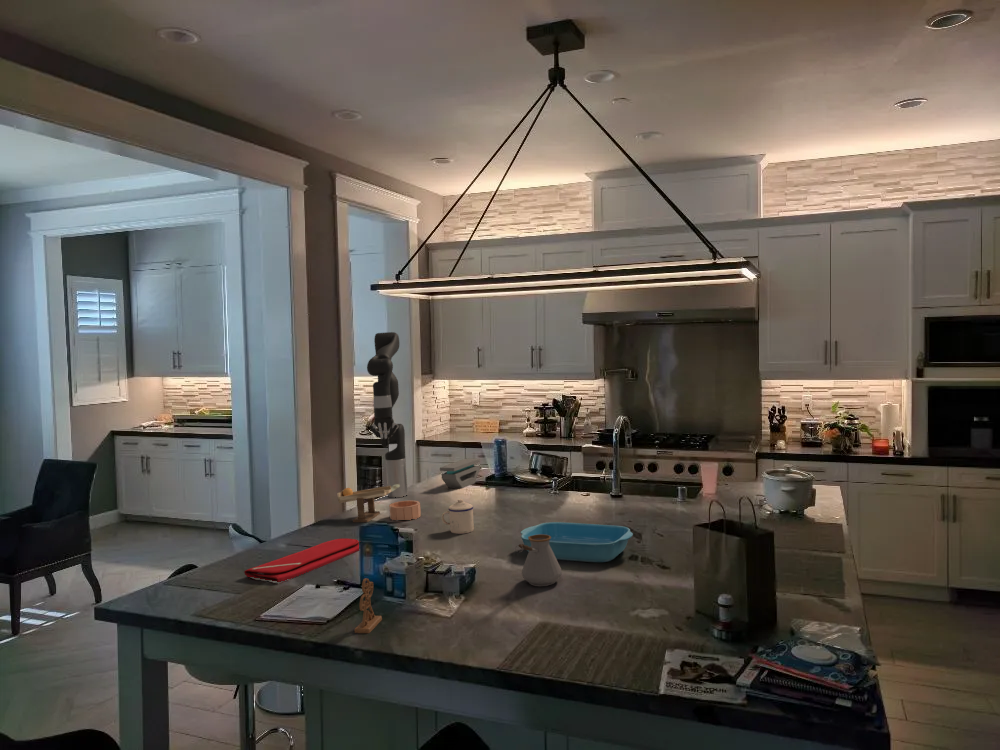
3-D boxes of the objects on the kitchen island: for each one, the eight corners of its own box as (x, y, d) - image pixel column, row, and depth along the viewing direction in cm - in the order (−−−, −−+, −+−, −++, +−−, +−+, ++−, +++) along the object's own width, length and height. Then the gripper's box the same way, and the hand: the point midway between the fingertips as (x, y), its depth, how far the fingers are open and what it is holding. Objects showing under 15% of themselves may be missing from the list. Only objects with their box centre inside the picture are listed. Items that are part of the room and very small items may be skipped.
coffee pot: (530, 574, 219) (527, 523, 218) (568, 576, 214) (565, 525, 213) (501, 599, 199) (498, 543, 198) (541, 602, 194) (538, 546, 194)
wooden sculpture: (369, 633, 181) (365, 584, 180) (354, 632, 182) (350, 584, 181) (382, 619, 190) (379, 573, 189) (368, 619, 191) (364, 573, 190)
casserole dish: (509, 558, 236) (508, 536, 236) (538, 539, 256) (537, 519, 255) (621, 569, 219) (619, 545, 219) (642, 548, 239) (641, 526, 238)
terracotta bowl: (396, 514, 306) (395, 500, 306) (424, 513, 304) (423, 500, 303) (386, 521, 294) (385, 507, 294) (415, 521, 292) (414, 507, 292)
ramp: (356, 493, 318) (354, 484, 317) (399, 486, 313) (398, 476, 313) (339, 503, 300) (337, 493, 300) (385, 495, 296) (382, 485, 296)
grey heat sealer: (467, 480, 371) (466, 458, 370) (481, 480, 367) (479, 458, 367) (441, 490, 349) (439, 467, 348) (455, 491, 345) (454, 468, 345)
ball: (348, 498, 305) (343, 490, 306) (356, 493, 305) (350, 485, 305) (344, 500, 302) (339, 492, 302) (352, 495, 301) (347, 487, 301)
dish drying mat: (368, 548, 258) (367, 538, 258) (279, 586, 223) (278, 573, 223) (334, 544, 266) (333, 534, 266) (243, 580, 231) (242, 568, 231)
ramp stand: (366, 513, 310) (364, 491, 309) (379, 513, 309) (378, 491, 308) (353, 522, 296) (351, 498, 296) (367, 522, 295) (365, 498, 294)
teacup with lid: (476, 527, 277) (474, 496, 276) (472, 533, 268) (470, 501, 267) (445, 528, 278) (443, 497, 278) (439, 534, 269) (437, 502, 269)
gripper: (400, 404, 314) (403, 445, 315) (371, 406, 317) (373, 446, 317) (394, 406, 307) (397, 448, 307) (364, 407, 309) (367, 449, 310)
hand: (385, 447), depth 312 cm, fingers closed
